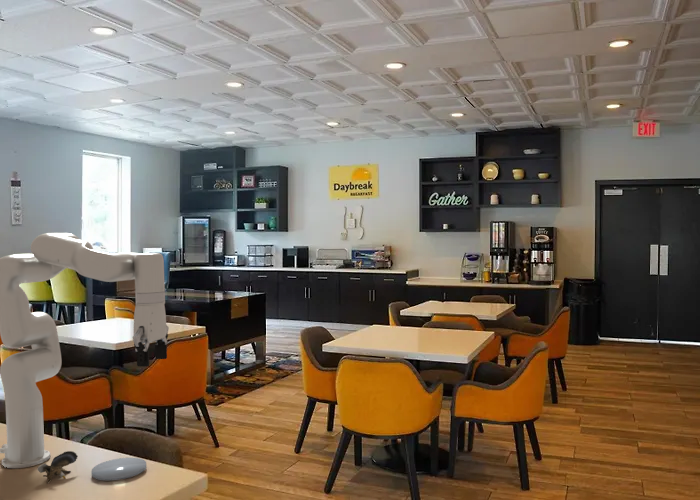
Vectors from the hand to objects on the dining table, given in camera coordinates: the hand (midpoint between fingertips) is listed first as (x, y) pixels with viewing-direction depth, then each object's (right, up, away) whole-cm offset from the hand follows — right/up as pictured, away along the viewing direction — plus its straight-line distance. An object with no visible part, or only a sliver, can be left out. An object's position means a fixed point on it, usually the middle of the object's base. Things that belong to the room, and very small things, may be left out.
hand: (152, 362), depth 167 cm
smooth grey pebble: (-10, -30, +2) cm, 32 cm away
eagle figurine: (-25, -31, 0) cm, 40 cm away
